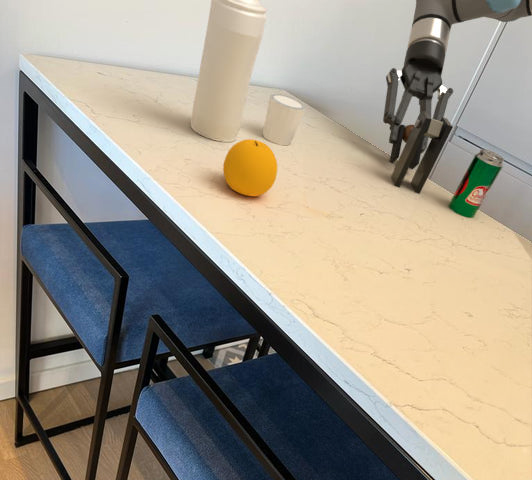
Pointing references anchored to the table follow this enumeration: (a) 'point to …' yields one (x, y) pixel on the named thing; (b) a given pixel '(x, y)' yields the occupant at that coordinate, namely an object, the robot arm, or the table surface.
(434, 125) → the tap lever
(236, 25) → the spray can
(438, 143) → the dark brown parallel bars
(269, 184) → the orange fruit
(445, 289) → the table surface
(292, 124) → the white cylinder
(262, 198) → the table surface
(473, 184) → the soda can
